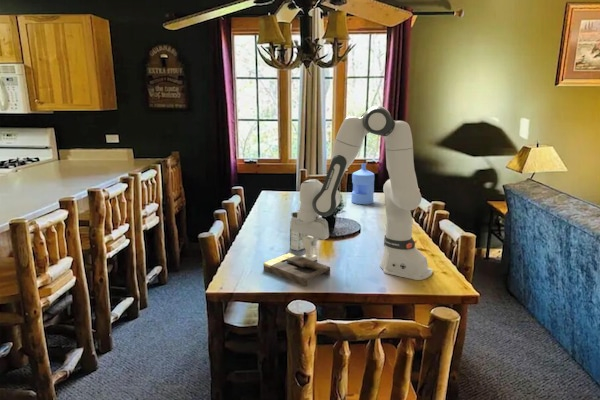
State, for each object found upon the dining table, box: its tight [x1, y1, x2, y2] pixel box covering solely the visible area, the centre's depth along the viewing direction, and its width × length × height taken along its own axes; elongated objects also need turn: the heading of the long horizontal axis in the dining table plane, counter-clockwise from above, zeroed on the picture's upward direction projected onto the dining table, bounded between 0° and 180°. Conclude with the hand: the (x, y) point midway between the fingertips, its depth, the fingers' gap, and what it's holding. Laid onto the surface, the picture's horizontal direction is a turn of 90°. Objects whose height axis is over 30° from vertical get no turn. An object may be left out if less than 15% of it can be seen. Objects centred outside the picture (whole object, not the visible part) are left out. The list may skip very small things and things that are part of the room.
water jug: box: [350, 162, 375, 206], centre depth 296 cm, size 16×16×28 cm
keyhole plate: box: [262, 252, 331, 287], centre depth 179 cm, size 24×16×3 cm, turn 48°
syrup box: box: [289, 220, 307, 252], centre depth 206 cm, size 6×6×14 cm
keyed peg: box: [301, 235, 318, 262], centre depth 191 cm, size 5×5×11 cm
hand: (309, 244), depth 191 cm, fingers closed on keyed peg, 4 cm apart
